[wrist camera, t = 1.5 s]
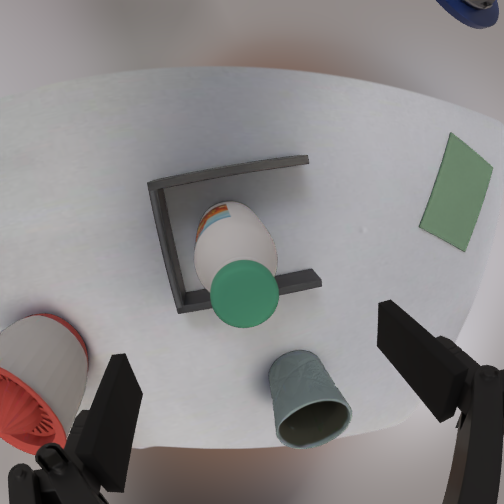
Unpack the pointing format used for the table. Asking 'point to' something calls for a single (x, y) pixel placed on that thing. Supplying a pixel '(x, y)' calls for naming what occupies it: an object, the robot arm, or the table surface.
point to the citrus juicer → (40, 381)
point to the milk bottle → (237, 264)
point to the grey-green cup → (306, 401)
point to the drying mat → (457, 194)
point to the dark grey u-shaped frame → (181, 297)
